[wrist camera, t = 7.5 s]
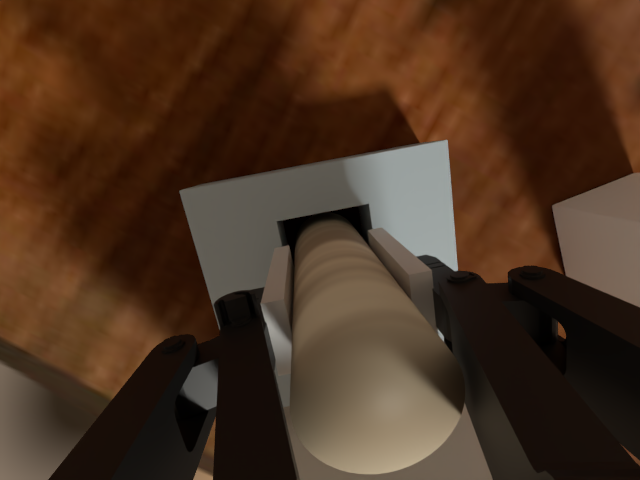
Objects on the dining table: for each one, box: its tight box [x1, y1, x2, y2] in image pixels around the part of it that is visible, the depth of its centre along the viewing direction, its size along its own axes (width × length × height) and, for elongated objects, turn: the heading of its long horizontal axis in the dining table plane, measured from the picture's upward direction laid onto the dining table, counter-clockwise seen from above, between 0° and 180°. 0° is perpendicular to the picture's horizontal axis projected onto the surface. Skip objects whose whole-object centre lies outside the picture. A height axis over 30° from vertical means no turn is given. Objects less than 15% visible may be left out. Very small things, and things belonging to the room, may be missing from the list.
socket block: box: [179, 140, 458, 407], centre depth 21 cm, size 14×14×4 cm
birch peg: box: [290, 213, 465, 474], centre depth 14 cm, size 4×4×14 cm
